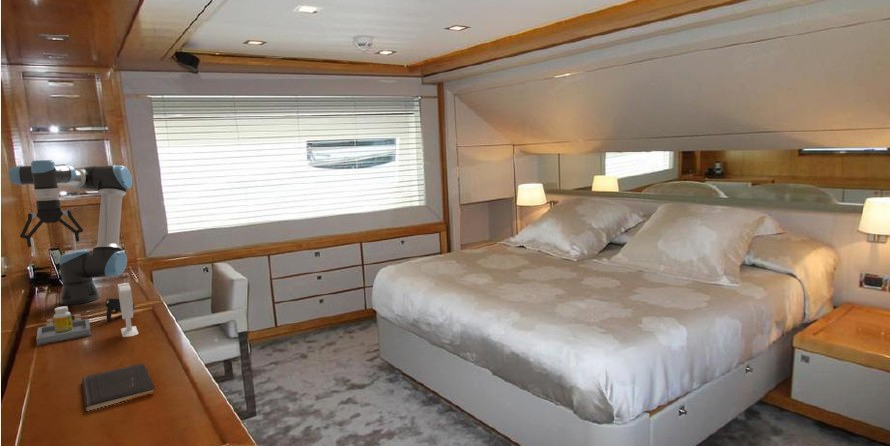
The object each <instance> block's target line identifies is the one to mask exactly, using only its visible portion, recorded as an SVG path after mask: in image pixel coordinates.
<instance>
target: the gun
mask: <svg viewBox="0 0 890 446" xmlns="http://www.w3.org/2000/svg"><path fill="white" fill-rule="evenodd" d="M105 301H106V302H105V307H106V308H107V309H106V320H107V322H113V319H112V314H118V313H119V312H120V313H121V307H120V301H119V297H117V298H106V300H105ZM135 309H136V308H135V303H133V312H134V310H135Z"/></svg>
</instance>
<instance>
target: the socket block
mask: <svg viewBox="0 0 890 446" xmlns="http://www.w3.org/2000/svg"><path fill="white" fill-rule="evenodd" d="M81 315H82V314H81V313H75V314H71V319H72V322H73V321H78V320H82V316H81ZM50 325H54V318H53V317H51V318H47V319H46V325H45V326H50Z"/></svg>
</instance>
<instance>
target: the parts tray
mask: <svg viewBox="0 0 890 446" xmlns="http://www.w3.org/2000/svg"><path fill="white" fill-rule="evenodd" d="M89 319H90V318H84V319H81V320H78V321H73V322H72V327H73V331H71V332H65V333H60V334H56V332H55V325H50V326H46V325H45V326H40V327H37V332H36V345H37V346H42V345H46V344H52V343H58V342H63V341H69V340H74V339H78V338H83V337H89V336H92V332H91V326H90V320H89Z"/></svg>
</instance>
